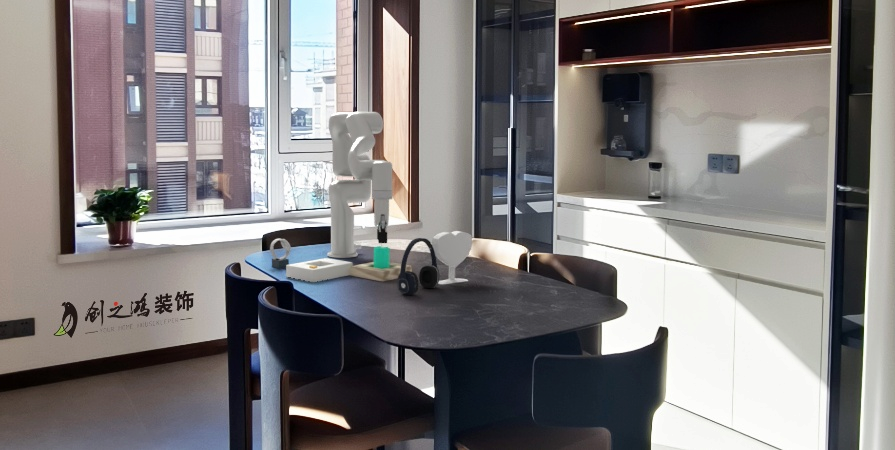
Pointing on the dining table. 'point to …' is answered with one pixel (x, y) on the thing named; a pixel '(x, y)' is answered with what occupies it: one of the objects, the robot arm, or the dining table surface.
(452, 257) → the heart sculpture
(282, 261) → the watch
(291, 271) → the port block
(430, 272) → the headphones
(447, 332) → the dining table surface
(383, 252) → the candle
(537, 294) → the dining table surface
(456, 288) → the dining table surface
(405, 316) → the dining table surface
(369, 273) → the beige compartment tray
